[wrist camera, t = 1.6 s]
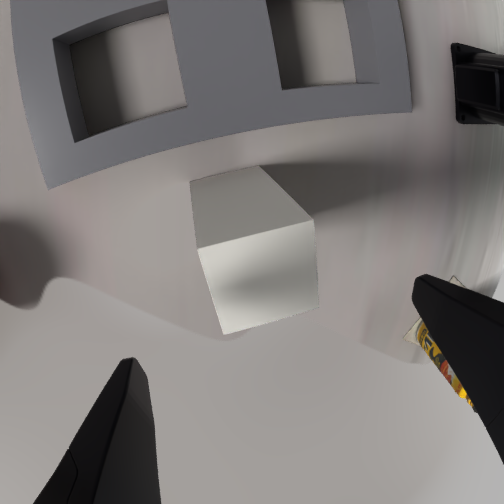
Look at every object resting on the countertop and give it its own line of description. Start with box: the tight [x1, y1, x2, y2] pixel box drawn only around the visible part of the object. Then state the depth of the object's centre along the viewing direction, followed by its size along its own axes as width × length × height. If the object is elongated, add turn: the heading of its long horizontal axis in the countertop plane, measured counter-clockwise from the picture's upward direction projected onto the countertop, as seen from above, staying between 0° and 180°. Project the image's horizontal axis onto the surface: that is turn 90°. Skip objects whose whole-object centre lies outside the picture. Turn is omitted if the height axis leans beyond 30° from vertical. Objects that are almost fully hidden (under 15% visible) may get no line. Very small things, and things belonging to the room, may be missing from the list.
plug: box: [190, 166, 319, 335], centre depth 15 cm, size 4×4×8 cm
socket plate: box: [10, 0, 412, 190], centre depth 10 cm, size 20×12×6 cm, turn 99°
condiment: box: [403, 276, 477, 413], centre depth 24 cm, size 7×8×12 cm
